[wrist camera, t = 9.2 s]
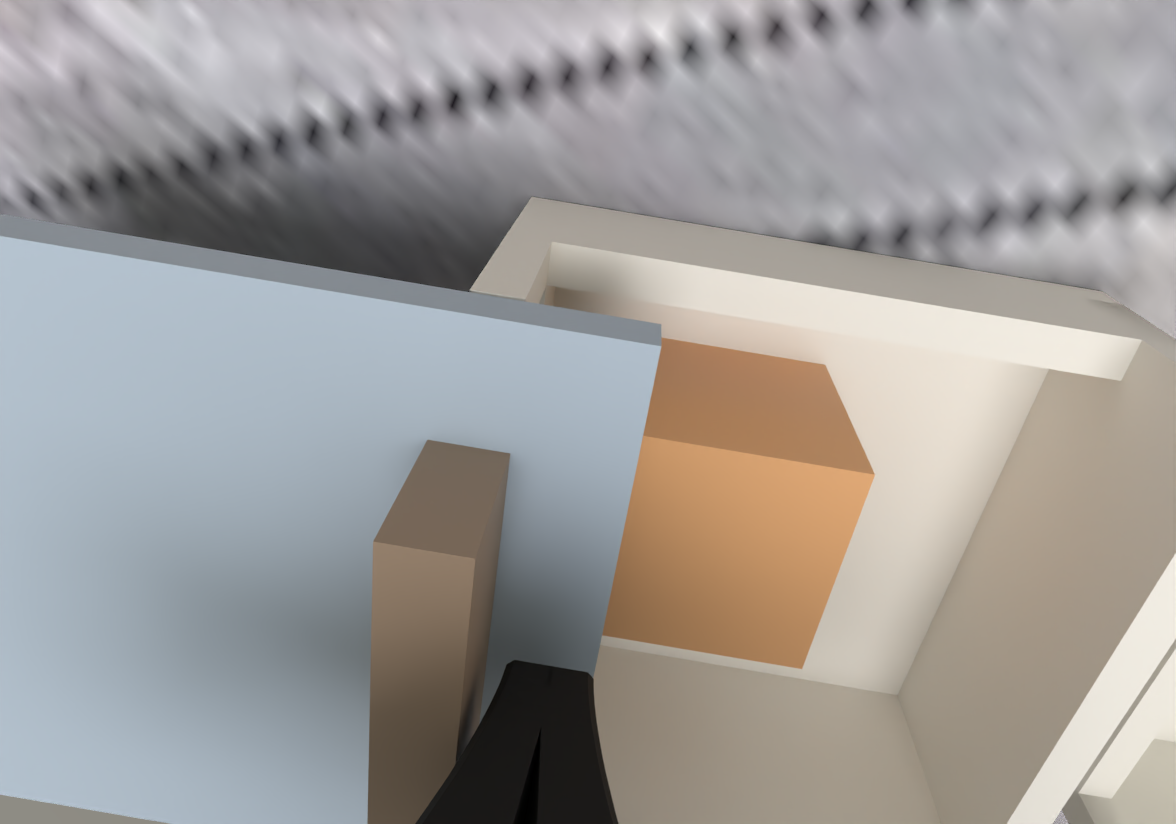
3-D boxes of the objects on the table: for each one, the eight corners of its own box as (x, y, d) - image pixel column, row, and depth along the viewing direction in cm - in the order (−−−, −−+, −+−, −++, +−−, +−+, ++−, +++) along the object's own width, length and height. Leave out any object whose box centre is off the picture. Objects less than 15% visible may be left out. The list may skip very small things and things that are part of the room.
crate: (908, 698, 22) (988, 919, 17) (484, 625, 22) (428, 824, 17) (1102, 291, 16) (1314, 430, 11) (531, 196, 16) (470, 289, 11)
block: (772, 531, 19) (802, 669, 15) (590, 500, 19) (572, 630, 15) (824, 364, 17) (875, 475, 13) (620, 330, 17) (608, 430, 13)
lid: (554, 850, 17) (533, 1025, 14) (-5, 755, 17) (-142, 909, 14) (661, 324, 11) (661, 436, 8) (-183, 183, 11) (-473, 246, 8)
